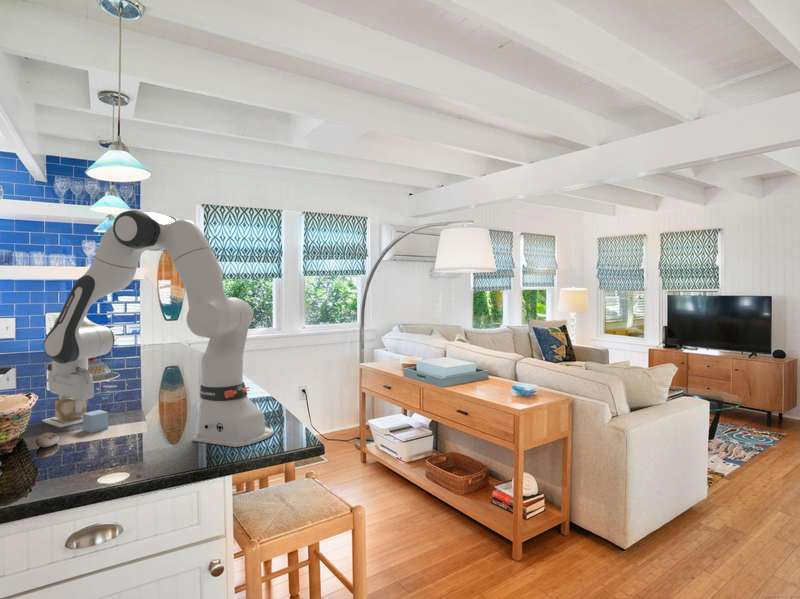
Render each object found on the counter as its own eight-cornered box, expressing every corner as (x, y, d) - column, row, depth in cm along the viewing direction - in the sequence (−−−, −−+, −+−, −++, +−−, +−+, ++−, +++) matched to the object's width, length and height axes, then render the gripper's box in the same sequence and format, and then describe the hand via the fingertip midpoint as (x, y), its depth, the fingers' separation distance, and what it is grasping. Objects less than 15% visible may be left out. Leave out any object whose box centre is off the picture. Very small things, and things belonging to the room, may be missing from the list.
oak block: (86, 415, 143) (86, 399, 143) (65, 419, 138) (64, 403, 138) (76, 412, 146) (76, 396, 146) (55, 416, 141) (55, 400, 141)
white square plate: (99, 418, 145) (99, 416, 145) (60, 427, 135) (60, 425, 135) (81, 413, 150) (81, 411, 150) (42, 421, 141) (42, 419, 141)
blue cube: (108, 428, 135) (107, 412, 134) (91, 433, 131) (90, 415, 130) (99, 426, 137) (99, 409, 137) (82, 430, 133) (82, 413, 133)
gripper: (99, 367, 140) (100, 412, 140) (66, 361, 150) (66, 403, 150) (76, 370, 134) (77, 417, 135) (43, 364, 144) (44, 408, 145)
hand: (71, 410), depth 142 cm, fingers closed on oak block, 6 cm apart
